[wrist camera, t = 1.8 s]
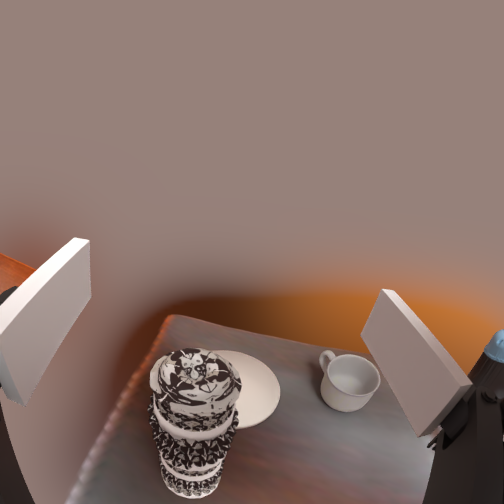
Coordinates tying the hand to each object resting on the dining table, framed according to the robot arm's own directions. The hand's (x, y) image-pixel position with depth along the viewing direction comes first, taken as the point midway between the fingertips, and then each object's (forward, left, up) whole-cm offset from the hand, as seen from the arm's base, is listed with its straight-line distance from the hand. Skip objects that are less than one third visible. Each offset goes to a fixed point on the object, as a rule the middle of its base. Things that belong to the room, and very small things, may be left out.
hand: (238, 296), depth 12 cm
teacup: (+15, -33, -37) cm, 52 cm away
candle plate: (+23, -13, -37) cm, 46 cm away
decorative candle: (+7, -1, -37) cm, 38 cm away
